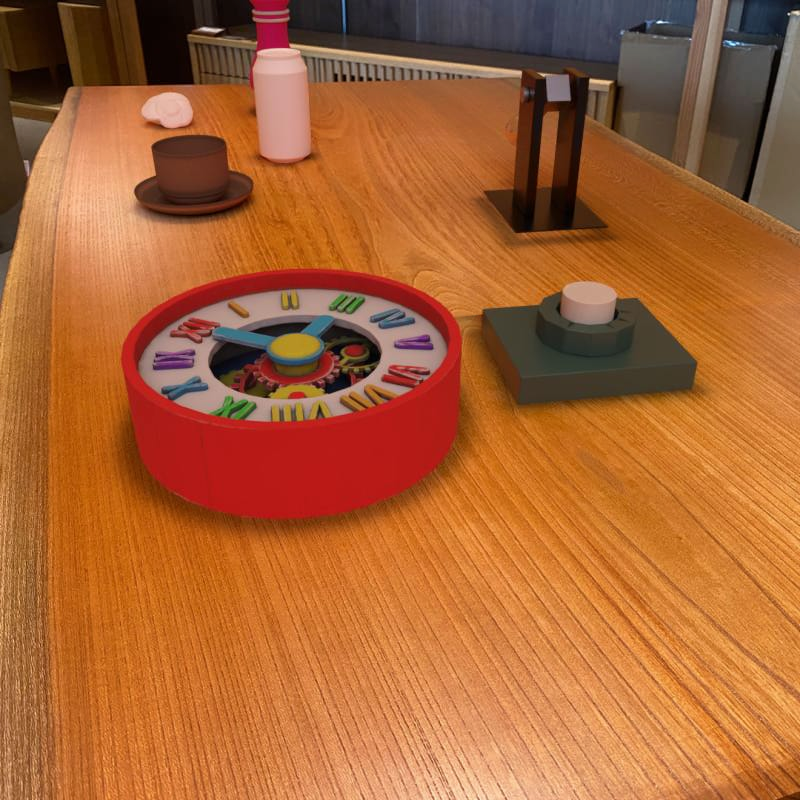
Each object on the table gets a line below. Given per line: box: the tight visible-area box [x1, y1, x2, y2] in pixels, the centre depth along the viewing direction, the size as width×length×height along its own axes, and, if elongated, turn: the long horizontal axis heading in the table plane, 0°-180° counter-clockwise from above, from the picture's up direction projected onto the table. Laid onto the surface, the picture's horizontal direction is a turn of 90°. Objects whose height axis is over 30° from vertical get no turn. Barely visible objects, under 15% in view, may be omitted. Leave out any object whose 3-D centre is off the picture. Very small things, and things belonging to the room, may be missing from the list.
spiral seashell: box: [139, 91, 194, 130], centre depth 113 cm, size 7×5×4 cm
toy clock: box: [120, 268, 463, 520], centre depth 52 cm, size 20×6×20 cm
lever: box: [504, 74, 571, 147], centre depth 82 cm, size 13×4×4 cm
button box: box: [480, 290, 699, 406], centre depth 58 cm, size 12×10×4 cm
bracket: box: [483, 67, 609, 234], centre depth 80 cm, size 12×9×14 cm
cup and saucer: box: [133, 134, 254, 216], centre depth 85 cm, size 12×12×6 cm
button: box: [560, 280, 618, 325], centre depth 57 cm, size 4×4×2 cm
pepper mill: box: [249, 0, 292, 91], centre depth 115 cm, size 7×7×20 cm
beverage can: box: [252, 48, 312, 164], centre depth 98 cm, size 6×6×12 cm
